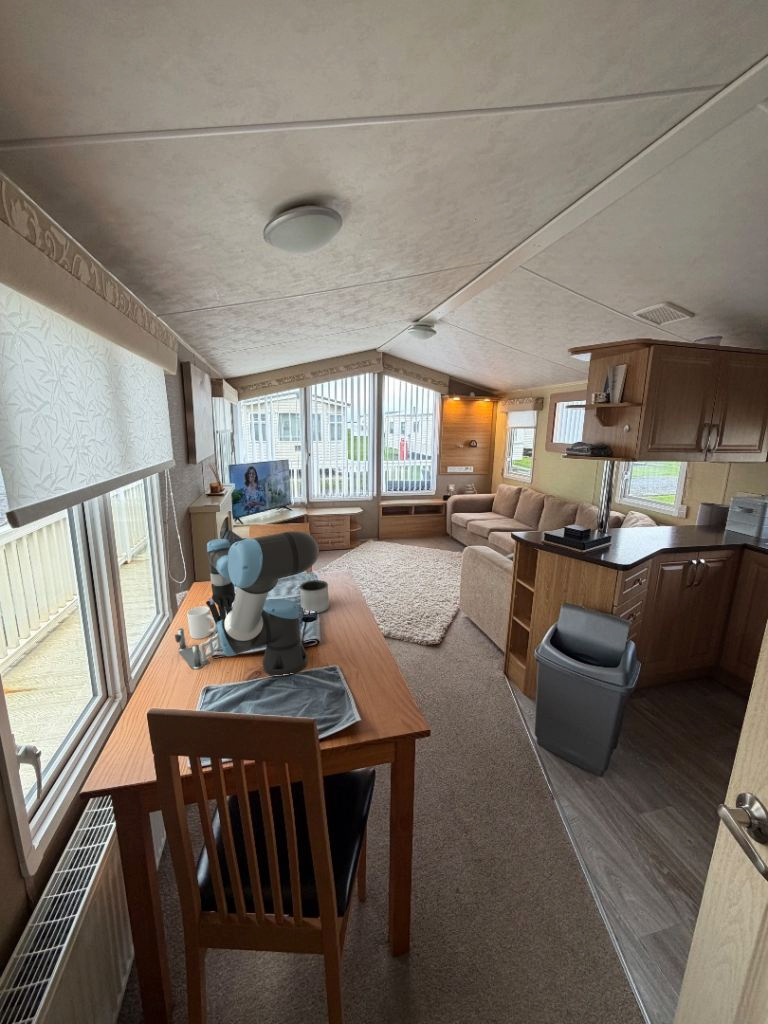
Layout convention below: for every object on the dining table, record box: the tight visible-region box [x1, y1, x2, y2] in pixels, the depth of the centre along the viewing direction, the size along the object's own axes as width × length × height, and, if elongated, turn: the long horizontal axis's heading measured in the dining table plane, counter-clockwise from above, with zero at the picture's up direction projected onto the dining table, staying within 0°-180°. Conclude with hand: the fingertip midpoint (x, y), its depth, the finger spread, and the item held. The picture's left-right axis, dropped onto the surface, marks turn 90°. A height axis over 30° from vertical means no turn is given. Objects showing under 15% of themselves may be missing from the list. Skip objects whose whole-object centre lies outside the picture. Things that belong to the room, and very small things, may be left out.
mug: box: [186, 605, 217, 640], centre depth 168 cm, size 12×8×10 cm
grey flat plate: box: [178, 646, 211, 670], centre depth 153 cm, size 15×6×1 cm, turn 42°
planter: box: [299, 579, 330, 614], centre depth 189 cm, size 12×13×11 cm
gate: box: [199, 632, 222, 661], centre depth 154 cm, size 12×1×7 cm, turn 157°
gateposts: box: [174, 627, 204, 670], centre depth 152 cm, size 19×4×8 cm, turn 42°
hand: (229, 641), depth 156 cm, fingers closed
